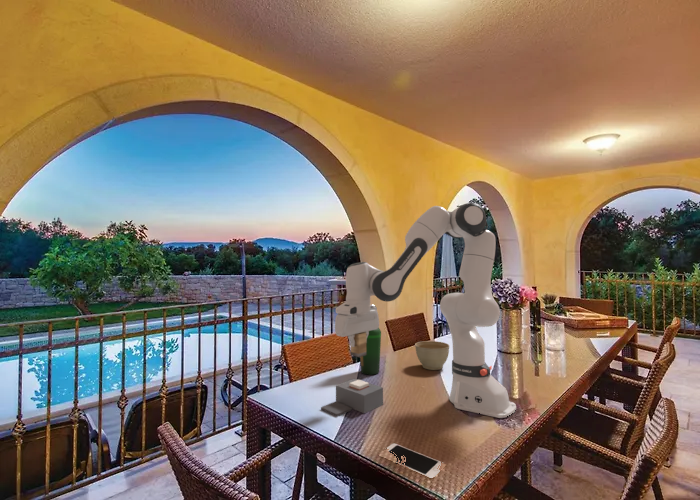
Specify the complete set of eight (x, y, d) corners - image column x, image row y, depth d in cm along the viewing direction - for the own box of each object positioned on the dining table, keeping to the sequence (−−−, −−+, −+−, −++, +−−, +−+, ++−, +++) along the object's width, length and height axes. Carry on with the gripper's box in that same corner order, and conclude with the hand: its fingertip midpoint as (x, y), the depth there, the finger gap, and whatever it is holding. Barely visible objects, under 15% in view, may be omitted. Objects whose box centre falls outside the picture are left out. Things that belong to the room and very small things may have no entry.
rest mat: (351, 410, 120) (351, 407, 120) (337, 416, 115) (337, 414, 115) (335, 403, 126) (335, 401, 126) (321, 409, 121) (321, 407, 121)
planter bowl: (446, 362, 175) (446, 340, 175) (452, 373, 159) (452, 349, 159) (413, 362, 176) (413, 340, 177) (416, 372, 160) (416, 348, 161)
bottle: (369, 367, 168) (368, 309, 169) (386, 372, 161) (385, 311, 162) (353, 372, 161) (353, 311, 162) (370, 377, 153) (370, 313, 154)
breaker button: (369, 396, 126) (368, 382, 126) (359, 400, 123) (359, 386, 123) (358, 393, 130) (358, 379, 130) (349, 397, 126) (349, 383, 126)
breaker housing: (383, 404, 125) (382, 387, 125) (364, 413, 118) (364, 395, 118) (354, 394, 135) (354, 378, 135) (335, 402, 127) (335, 385, 128)
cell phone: (432, 481, 82) (432, 478, 82) (377, 456, 92) (377, 454, 92) (447, 466, 88) (447, 464, 88) (393, 444, 98) (393, 442, 98)
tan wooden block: (366, 355, 127) (366, 332, 127) (358, 357, 124) (358, 334, 124) (358, 353, 129) (358, 331, 130) (350, 355, 127) (350, 333, 127)
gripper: (370, 303, 137) (370, 338, 136) (331, 309, 122) (332, 348, 122) (382, 304, 132) (383, 341, 132) (344, 310, 118) (345, 352, 117)
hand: (358, 345), depth 127 cm, fingers closed on tan wooden block, 4 cm apart
